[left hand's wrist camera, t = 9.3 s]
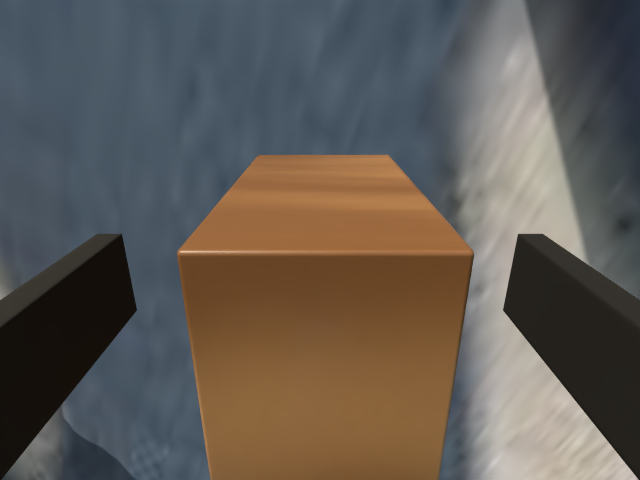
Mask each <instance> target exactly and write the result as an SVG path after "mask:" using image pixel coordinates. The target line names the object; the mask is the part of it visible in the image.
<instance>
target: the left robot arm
mask: <svg viewBox="0 0 640 480" xmlns="http://www.w3.org/2000/svg"><path fill="white" fill-rule="evenodd" d="M136 311H137V308H136V303H135V298H134V293H133V288H132V283H131V278H130V273H129V268H128V263H127V258H126V253H125V248H124V243H123V238H122V234H97V235H95V236H94V237H92V238H91V239H89V240H88V241H86V242H85V243H83V244H82V245H80V246H79V247H78V248H76V249H75V250H73V251H72V252H70V253H69V254H67V255H66V256H64V257H63V258H61V259H60V260H59V261H57V262H56V263H54V264H53V265H51V266H50V267H48V268H47V269H45V270H44V271H42V272H41V273H40V274H38V275H37V276H35V277H34V278H32V279H31V280H29V281H28V282H26V283H25V284H23V285H22V286H21V287H19V288H18V289H16V290H15V291H13V292H12V293H10V294H9V295H7V296H6V297H4V298H3V299H2V300H0V480H1V479H2V478H3V477H4V476H5V474H6V473H7V472H8V471H9V469H10V468H11V467H12V466H13V464H14V463H15V462H16V461H17V459H18V458H19V457H20V456H21V454H22V453H23V452H24V451H25V449H26V448H27V447H28V446H29V444H30V443H31V442H32V441H33V439H34V438H35V437H36V436H37V434H38V433H39V432H40V431H41V429H42V428H43V427H44V426H45V424H46V423H47V422H48V421H49V419H50V418H51V417H52V416H53V414H54V413H55V412H56V411H57V409H58V408H59V407H60V406H61V404H62V403H63V402H64V401H65V399H66V398H67V397H68V396H69V394H70V393H71V392H72V391H73V389H74V388H75V387H76V386H77V384H78V383H79V382H80V381H81V379H82V378H83V377H84V376H85V374H86V373H87V372H88V371H89V369H90V368H91V367H92V366H93V364H94V363H95V362H96V361H97V359H98V358H99V357H100V356H101V354H102V353H103V352H104V351H105V349H106V348H107V347H108V346H109V344H110V343H111V342H112V341H113V339H114V338H115V337H116V336H117V334H118V333H119V332H120V331H121V329H122V328H123V327H124V326H125V324H126V323H127V322H128V321H129V319H130V318H131V317H132V316H133V314H134V313H135V312H136ZM503 311H504V312H505V313H506V314H507V316H508V317H509V318H510V319H511V321H512V322H513V323H514V324H515V326H516V327H517V328H518V329H519V331H520V332H521V333H522V334H523V336H524V337H525V338H526V339H527V341H528V342H529V343H530V344H531V346H532V347H533V348H534V349H535V351H536V352H537V353H538V354H539V356H540V357H541V358H542V359H543V361H544V362H545V363H546V364H547V366H548V367H549V368H550V369H551V371H552V372H553V373H554V374H555V376H556V377H557V378H558V379H559V381H560V382H561V383H562V384H563V386H564V387H565V388H566V389H567V391H568V392H569V393H570V394H571V396H572V397H573V398H574V399H575V401H576V402H577V403H578V404H579V406H580V407H581V408H582V409H583V411H584V412H585V413H586V414H587V416H588V417H589V418H590V419H591V421H592V422H593V423H594V424H595V426H596V427H597V428H598V429H599V431H600V432H601V433H602V434H603V436H604V437H605V438H606V439H607V441H608V442H609V443H610V444H611V446H612V447H613V448H614V449H615V451H616V452H617V453H618V454H619V456H620V457H621V458H622V459H623V461H624V462H625V463H626V464H627V466H628V467H629V468H630V469H631V471H632V472H633V473H634V474H635V476H636V477H637V478H638V479H639V480H640V300H638V299H637V298H636V297H634V296H633V295H631V294H630V293H628V292H627V291H625V290H624V289H622V288H621V287H619V286H618V285H617V284H615V283H614V282H612V281H611V280H609V279H608V278H606V277H605V276H603V275H602V274H600V273H599V272H598V271H596V270H595V269H593V268H592V267H590V266H589V265H587V264H586V263H584V262H583V261H581V260H580V259H579V258H577V257H576V256H574V255H573V254H571V253H570V252H568V251H567V250H565V249H564V248H562V247H561V246H560V245H558V244H557V243H555V242H554V241H552V240H551V239H549V238H548V237H546V236H545V235H543V234H518V237H517V243H516V248H515V253H514V258H513V263H512V268H511V273H510V278H509V283H508V288H507V293H506V298H505V303H504V308H503Z"/></svg>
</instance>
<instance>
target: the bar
mask: <svg viewBox="0 0 640 480" xmlns="http://www.w3.org/2000/svg"><path fill="white" fill-rule="evenodd" d="M177 257H178V264H179V271H180V277H181V284H182V291H183V297H184V304H185V311H186V318H187V324H188V331H189V338H190V345H191V351H192V358H193V365H194V371H195V378H196V385H197V392H198V398H199V405H200V412H201V418H202V425H203V432H204V439H205V445H206V452H207V459H208V465H209V472H210V479H211V480H439V475H440V469H441V462H442V456H443V450H444V443H445V437H446V431H447V424H448V418H449V411H450V405H451V399H452V392H453V386H454V379H455V373H456V367H457V360H458V354H459V348H460V341H461V335H462V328H463V322H464V316H465V309H466V303H467V297H468V290H469V284H470V277H471V271H472V265H473V258H474V252H473V250H472V249H471V248H470V246H469V245H468V244H467V243H466V242H465V241H464V240H463V239H462V237H461V236H460V235H459V234H458V233H457V232H456V231H455V230H454V228H453V227H452V226H451V225H450V224H449V223H448V222H447V221H446V219H445V218H444V217H443V216H442V215H441V214H440V213H439V212H438V210H437V209H436V208H435V207H434V206H433V205H432V204H431V202H430V201H429V200H428V199H427V198H426V197H425V196H424V195H423V193H422V192H421V191H420V190H419V189H418V188H417V187H416V186H415V184H414V183H413V182H412V181H411V180H410V179H409V178H408V177H407V175H406V174H405V173H404V172H403V171H402V170H401V169H400V168H399V166H398V165H397V164H396V163H395V162H394V161H393V160H392V159H391V157H390V156H388V155H259V156H257V157H256V159H255V160H254V161H253V162H252V163H251V165H250V166H249V167H248V168H247V169H246V170H245V172H244V173H243V174H242V175H241V176H240V178H239V179H238V180H237V181H236V182H235V184H234V185H233V186H232V187H231V188H230V189H229V191H228V192H227V193H226V194H225V195H224V197H223V198H222V199H221V200H220V201H219V203H218V204H217V205H216V206H215V207H214V208H213V210H212V211H211V212H210V213H209V214H208V216H207V217H206V218H205V219H204V220H203V222H202V223H201V224H200V225H199V226H198V227H197V229H196V230H195V231H194V232H193V233H192V235H191V236H190V237H189V238H188V239H187V241H186V242H185V243H184V244H183V245H182V246H181V248H180V249H179V250H178V253H177Z"/></svg>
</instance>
